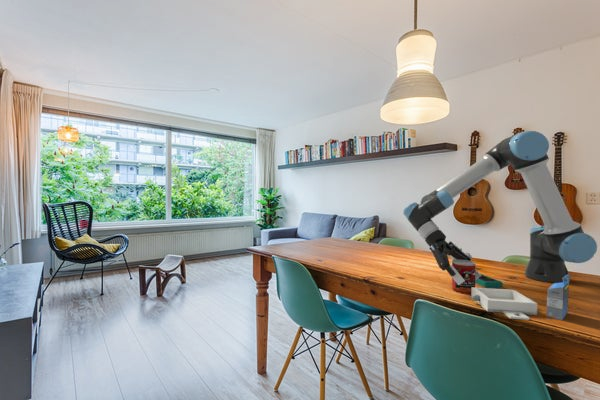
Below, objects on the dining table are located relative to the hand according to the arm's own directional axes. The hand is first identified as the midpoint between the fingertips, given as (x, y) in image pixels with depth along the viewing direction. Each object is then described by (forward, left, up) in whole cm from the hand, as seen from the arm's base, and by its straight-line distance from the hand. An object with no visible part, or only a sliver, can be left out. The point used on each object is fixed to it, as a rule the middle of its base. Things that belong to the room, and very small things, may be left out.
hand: (470, 280), depth 109 cm
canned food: (+2, -2, -5) cm, 5 cm away
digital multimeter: (-10, -16, -5) cm, 19 cm away
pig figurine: (-10, -47, -5) cm, 48 cm away
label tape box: (-18, +17, -5) cm, 26 cm away
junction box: (-5, +12, -4) cm, 14 cm away
